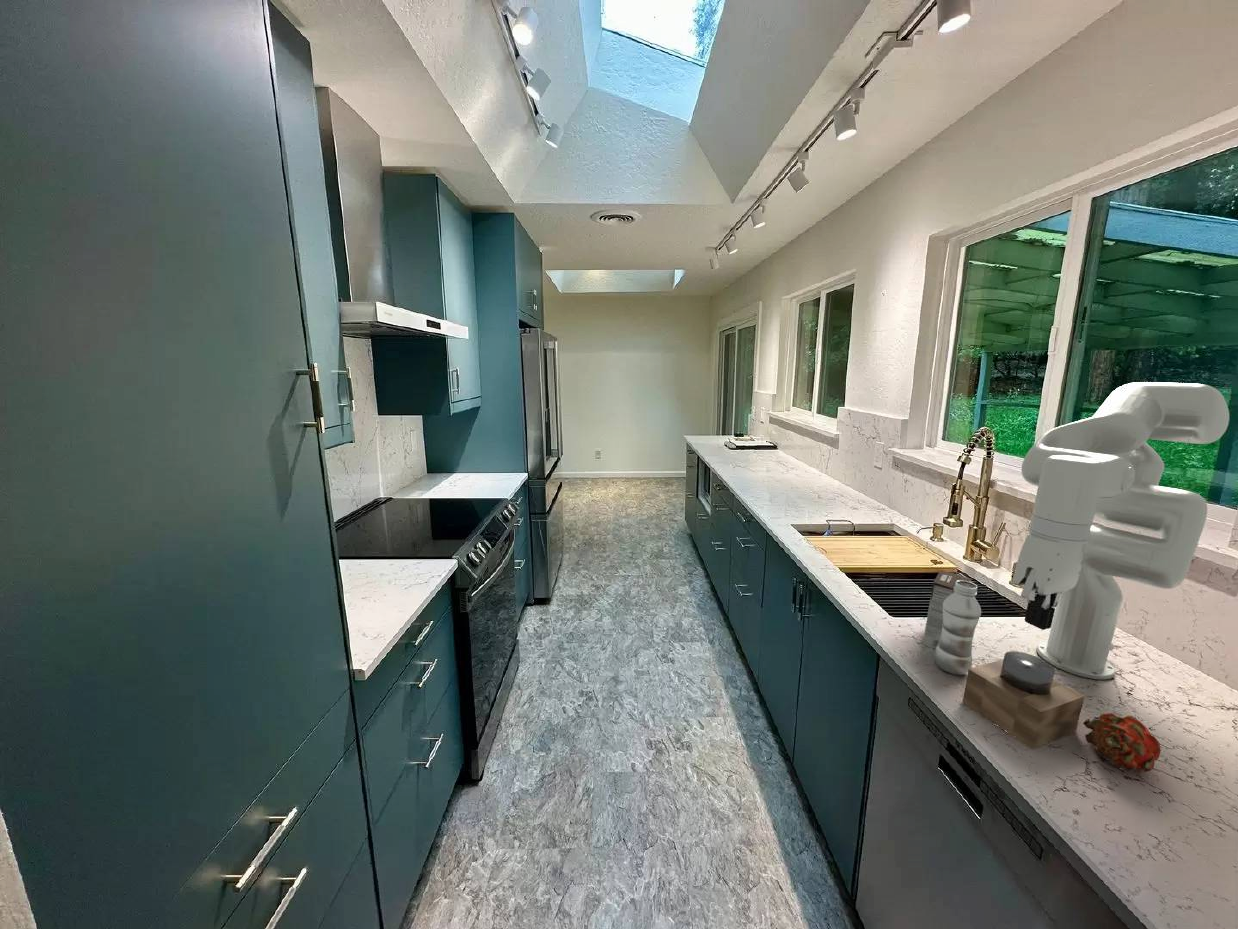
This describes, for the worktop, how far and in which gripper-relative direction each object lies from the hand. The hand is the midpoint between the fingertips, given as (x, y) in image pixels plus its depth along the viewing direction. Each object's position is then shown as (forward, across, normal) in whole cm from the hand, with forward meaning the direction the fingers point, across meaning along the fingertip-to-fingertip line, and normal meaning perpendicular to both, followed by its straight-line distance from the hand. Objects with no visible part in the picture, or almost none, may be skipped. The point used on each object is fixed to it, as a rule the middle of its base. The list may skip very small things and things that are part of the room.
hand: (1037, 625), depth 84 cm
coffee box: (+19, -10, -22) cm, 31 cm away
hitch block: (+19, 0, 0) cm, 19 cm away
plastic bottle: (+19, -2, -14) cm, 24 cm away
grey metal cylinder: (+19, 0, 0) cm, 19 cm away
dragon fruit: (+19, -6, +12) cm, 23 cm away
